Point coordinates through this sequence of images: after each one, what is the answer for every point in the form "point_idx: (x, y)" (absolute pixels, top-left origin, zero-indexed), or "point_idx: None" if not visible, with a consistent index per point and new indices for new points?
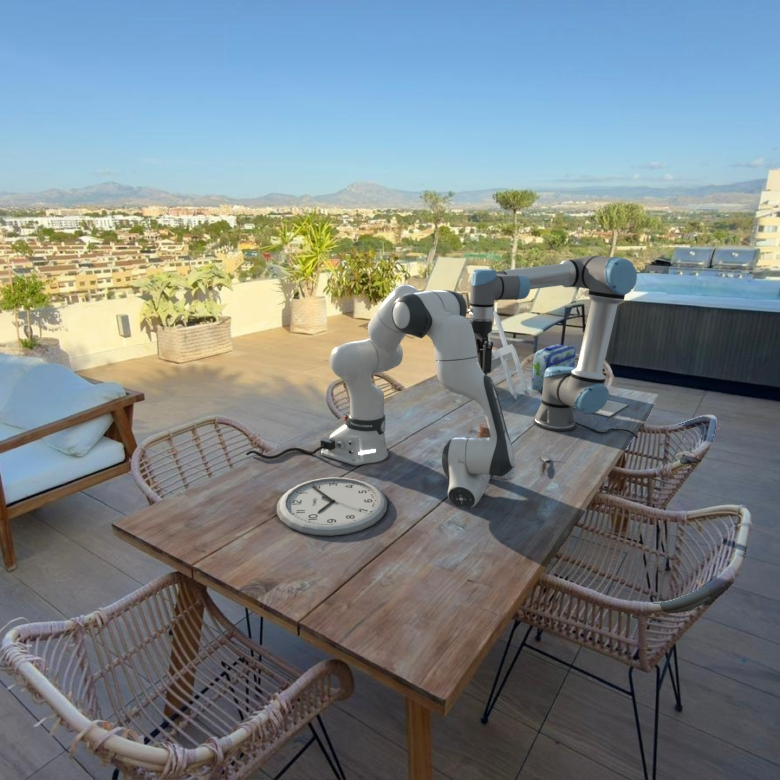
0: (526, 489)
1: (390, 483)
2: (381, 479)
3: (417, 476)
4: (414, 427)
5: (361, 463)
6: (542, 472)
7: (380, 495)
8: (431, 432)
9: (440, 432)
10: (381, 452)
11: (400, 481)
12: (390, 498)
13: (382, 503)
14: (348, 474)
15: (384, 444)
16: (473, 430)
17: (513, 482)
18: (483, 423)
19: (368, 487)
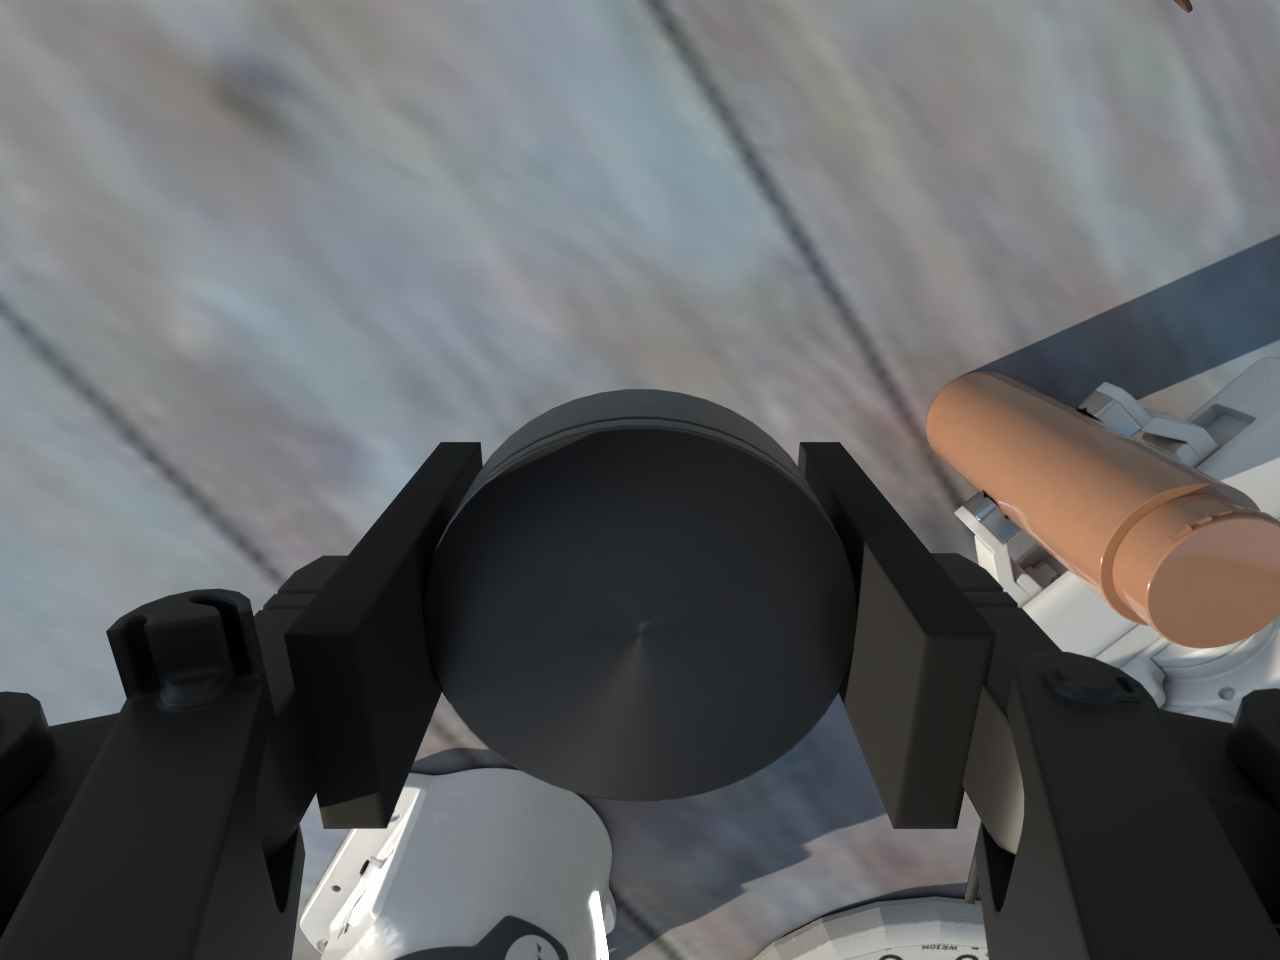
0: (1249, 258)
1: (834, 843)
2: (782, 863)
3: (820, 727)
4: (127, 503)
5: (612, 902)
6: (1183, 2)
7: (964, 934)
8: (236, 429)
9: (243, 367)
10: (584, 849)
11: (834, 805)
12: (955, 877)
13: None
14: (684, 952)
15: (548, 854)
16: (229, 73)
17: (1136, 285)
18: (1166, 597)
19: (872, 948)
